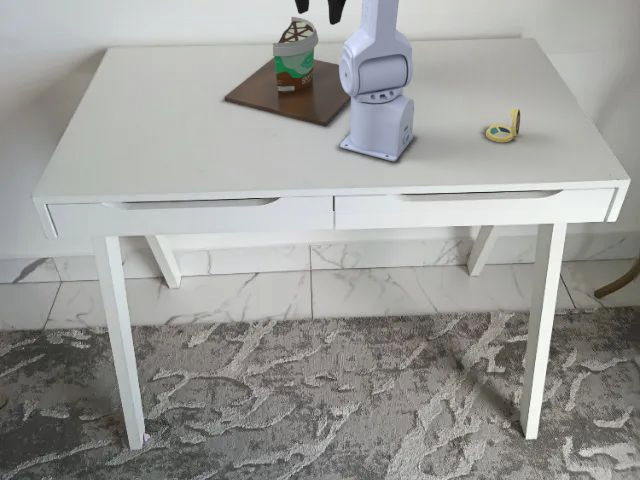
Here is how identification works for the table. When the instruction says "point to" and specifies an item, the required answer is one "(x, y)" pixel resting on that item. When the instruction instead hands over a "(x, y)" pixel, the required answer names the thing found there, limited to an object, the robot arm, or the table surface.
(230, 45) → the table surface
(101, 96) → the table surface
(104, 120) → the table surface
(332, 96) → the walnut board
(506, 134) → the eyeshadow
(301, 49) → the food container
